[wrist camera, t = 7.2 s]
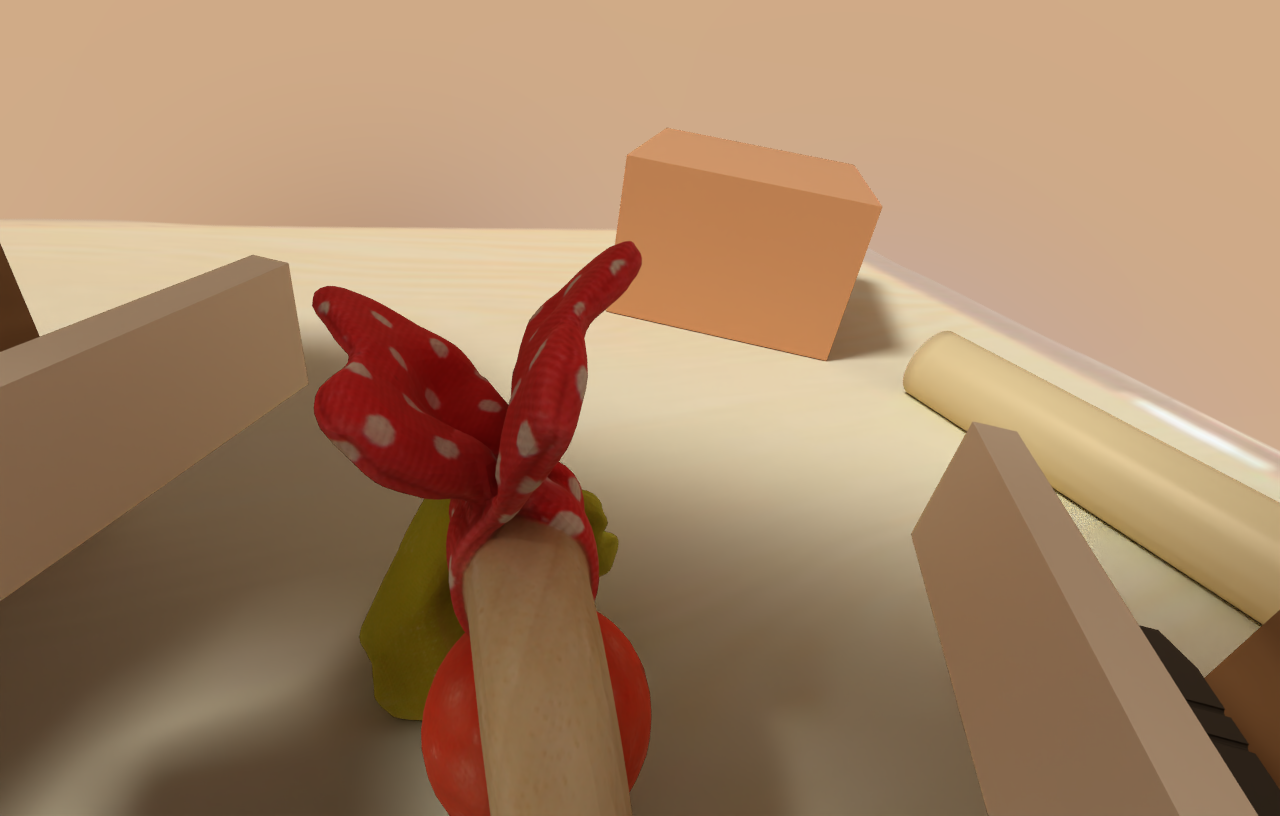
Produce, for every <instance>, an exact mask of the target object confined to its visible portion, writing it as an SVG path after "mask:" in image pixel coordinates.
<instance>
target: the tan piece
mask: <svg viewBox="0 0 1280 816" xmlns="http://www.w3.org/2000/svg"><path fill="white" fill-rule="evenodd" d="M903 386H904V389H905V391H906V392H907V393H908V394H910V395H911V396H913V397H914V398H916V399H917V400H919V401H921V402H922V403H924V404H925V405H927V406H928V407H930V408H931V409H933V410H934V411H936V412H937V413H939V414H940V415H942V416H943V417H945V418H947V419H948V420H950V421H951V422H953V423H954V424H956V425H957V426H959V427H960V428H962V429H963V430H965V431H966V432H967V431H968V429H969V427H970V425H971V423H972V422H978V423H982V424H986V425H991V426H995V427H999V428H1004V429H1008V430H1012V431H1017V432H1018V434H1019V435H1020V437H1021V439H1022V440H1023V442H1024V443H1025V445H1026V447H1027V448H1028V450H1029V451H1030V453H1031V455H1032V456H1033V458H1034V459H1035V461H1036V462H1037V464H1038V466H1039V467H1040V469H1041V470H1042V472H1043V474H1044V475H1045V477H1046V478H1047V480H1048V482H1049V483H1050V485H1051V486H1052V488H1054V489H1055V490H1057V491H1058V492H1060V493H1061V494H1063V495H1064V496H1066V497H1067V498H1069V499H1071V500H1072V501H1074V502H1075V503H1077V504H1078V505H1080V506H1081V507H1083V508H1084V509H1086V510H1087V511H1089V512H1090V513H1092V514H1094V515H1095V516H1097V517H1098V518H1100V519H1101V520H1103V521H1104V522H1106V523H1107V524H1109V525H1110V526H1112V527H1113V528H1115V529H1117V530H1118V531H1120V532H1121V533H1123V534H1124V535H1126V536H1127V537H1129V538H1130V539H1132V540H1133V541H1135V542H1136V543H1138V544H1139V545H1141V546H1143V547H1144V548H1146V549H1147V550H1149V551H1150V552H1152V553H1153V554H1155V555H1156V556H1158V557H1159V558H1161V559H1162V560H1164V561H1166V562H1167V563H1169V564H1170V565H1172V566H1173V567H1175V568H1176V569H1178V570H1179V571H1181V572H1182V573H1184V574H1185V575H1187V576H1188V577H1190V578H1192V579H1193V580H1195V581H1196V582H1198V583H1199V584H1201V585H1202V586H1204V587H1205V588H1207V589H1208V590H1210V591H1211V592H1213V593H1215V594H1216V595H1218V596H1219V597H1221V598H1222V599H1224V600H1225V601H1227V602H1228V603H1230V604H1231V605H1233V606H1234V607H1236V608H1238V609H1239V610H1241V611H1242V612H1244V613H1245V614H1247V615H1248V616H1250V617H1251V618H1253V619H1254V620H1256V621H1257V622H1259V623H1261V624H1262V625H1263V624H1265V623H1266V622H1267V621H1268V620H1269V619H1270V618H1271V617H1272V616H1273V615H1274V614H1276V613H1277V612H1278V611H1279V610H1280V503H1279V502H1277V501H1275V500H1273V499H1271V498H1269V497H1267V496H1266V495H1264V494H1262V493H1260V492H1258V491H1256V490H1254V489H1252V488H1250V487H1248V486H1246V485H1244V484H1243V483H1241V482H1239V481H1237V480H1235V479H1233V478H1231V477H1229V476H1227V475H1225V474H1223V473H1221V472H1220V471H1218V470H1216V469H1214V468H1212V467H1210V466H1208V465H1206V464H1204V463H1202V462H1200V461H1199V460H1197V459H1195V458H1193V457H1191V456H1189V455H1187V454H1185V453H1183V452H1181V451H1179V450H1177V449H1176V448H1174V447H1172V446H1170V445H1168V444H1166V443H1164V442H1162V441H1160V440H1158V439H1156V438H1155V437H1153V436H1151V435H1149V434H1147V433H1145V432H1143V431H1141V430H1139V429H1137V428H1135V427H1133V426H1132V425H1130V424H1128V423H1126V422H1124V421H1122V420H1120V419H1118V418H1116V417H1114V416H1112V415H1111V414H1109V413H1107V412H1105V411H1103V410H1101V409H1099V408H1097V407H1095V406H1093V405H1091V404H1089V403H1088V402H1086V401H1084V400H1082V399H1080V398H1078V397H1076V396H1074V395H1072V394H1070V393H1068V392H1066V391H1065V390H1063V389H1061V388H1059V387H1057V386H1055V385H1053V384H1051V383H1049V382H1047V381H1045V380H1044V379H1042V378H1040V377H1038V376H1036V375H1034V374H1032V373H1030V372H1028V371H1026V370H1024V369H1022V368H1021V367H1019V366H1017V365H1015V364H1013V363H1011V362H1009V361H1007V360H1005V359H1003V358H1001V357H999V356H998V355H996V354H994V353H992V352H990V351H988V350H986V349H984V348H982V347H980V346H978V345H976V344H975V343H973V342H971V341H969V340H967V339H965V338H963V337H961V336H959V335H957V334H955V333H953V332H951V331H944V332H940V333H938V334H936V335H934V336H932V337H931V338H929V339H928V340H927V341H926V342H925V343H924V344H923V345H922V346H921V347H920V348H919V349H918V350H917V351H916V353H915V354H914V355H913V357H912V358H911V360H910V362H909V363H908V365H907V368H906V370H905V373H904V377H903Z"/></svg>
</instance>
